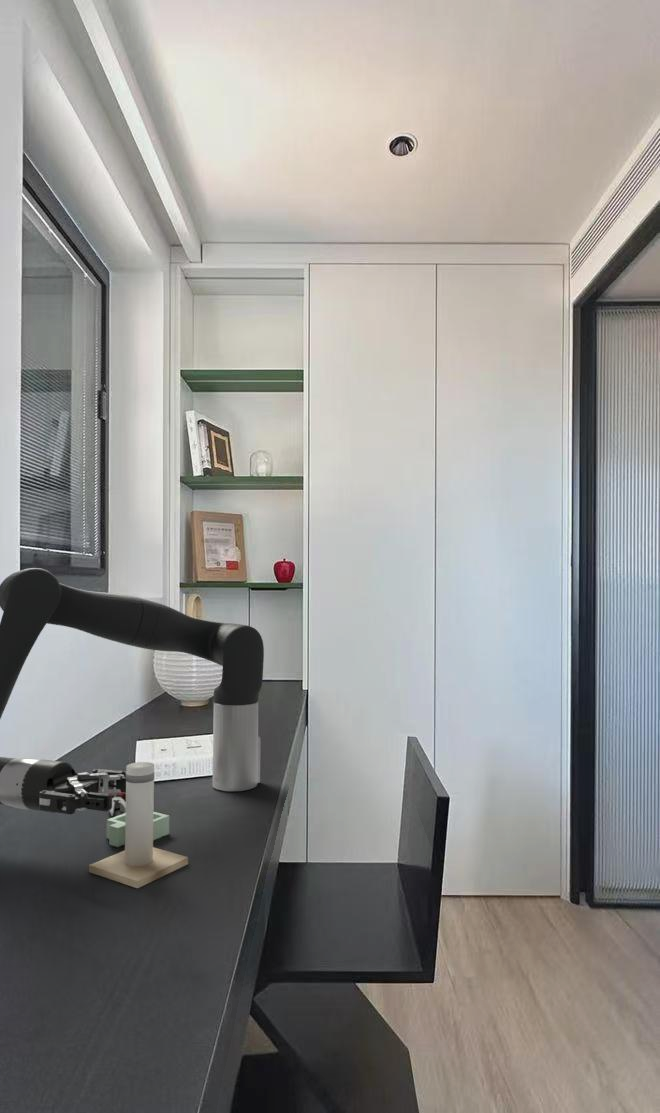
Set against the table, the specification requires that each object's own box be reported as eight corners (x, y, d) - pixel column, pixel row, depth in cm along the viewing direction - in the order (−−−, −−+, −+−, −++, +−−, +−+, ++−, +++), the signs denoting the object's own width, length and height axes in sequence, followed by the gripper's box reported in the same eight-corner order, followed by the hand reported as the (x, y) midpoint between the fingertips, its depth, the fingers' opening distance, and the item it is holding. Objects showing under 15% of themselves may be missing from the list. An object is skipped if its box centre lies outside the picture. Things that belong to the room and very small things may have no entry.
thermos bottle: (139, 853, 108) (141, 760, 108) (158, 859, 105) (160, 764, 106) (118, 862, 104) (120, 766, 105) (137, 868, 102) (139, 770, 102)
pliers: (86, 825, 124) (86, 810, 124) (77, 793, 142) (77, 780, 142) (153, 817, 128) (153, 803, 128) (136, 787, 147) (136, 774, 147)
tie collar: (139, 825, 123) (139, 808, 123) (169, 833, 119) (169, 815, 119) (98, 841, 115) (98, 822, 115) (129, 850, 111) (129, 831, 112)
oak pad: (141, 849, 112) (141, 843, 112) (188, 864, 106) (188, 857, 106) (89, 872, 103) (89, 865, 103) (137, 888, 98) (137, 881, 98)
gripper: (3, 771, 104) (99, 782, 99) (66, 749, 117) (153, 757, 113) (2, 823, 103) (98, 836, 99) (65, 795, 117) (152, 805, 112)
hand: (127, 794), depth 106 cm, fingers open, 8 cm apart
